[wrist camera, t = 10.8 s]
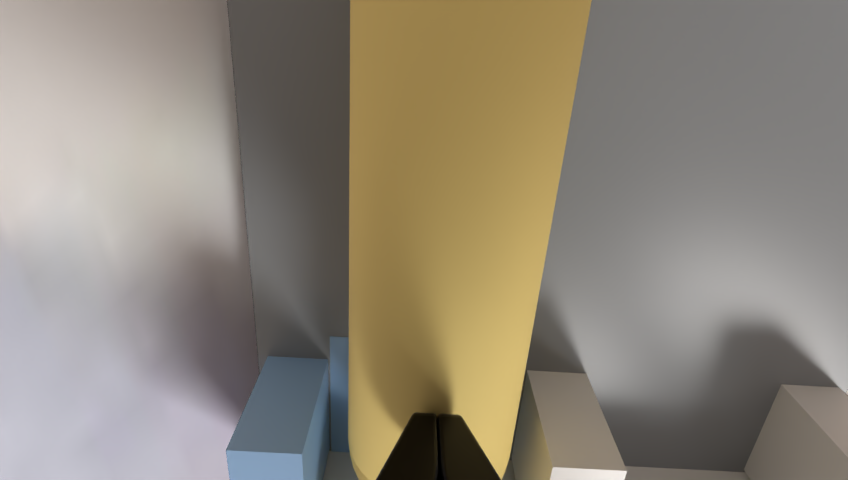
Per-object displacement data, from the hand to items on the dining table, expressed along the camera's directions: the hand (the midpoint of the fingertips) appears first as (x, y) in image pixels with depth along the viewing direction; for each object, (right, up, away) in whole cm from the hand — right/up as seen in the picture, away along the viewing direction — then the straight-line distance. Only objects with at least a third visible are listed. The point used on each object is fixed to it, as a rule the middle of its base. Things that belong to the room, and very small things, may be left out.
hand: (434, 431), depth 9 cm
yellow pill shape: (0, +4, +2) cm, 5 cm away
